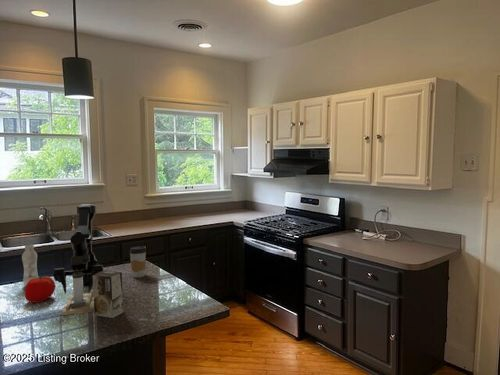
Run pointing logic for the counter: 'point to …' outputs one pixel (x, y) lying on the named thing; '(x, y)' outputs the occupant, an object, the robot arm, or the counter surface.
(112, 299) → the coffee box
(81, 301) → the fader knob
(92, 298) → the fader track
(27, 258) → the plastic bottle
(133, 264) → the coffee cup
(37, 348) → the counter surface
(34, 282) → the tomato
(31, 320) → the counter surface
